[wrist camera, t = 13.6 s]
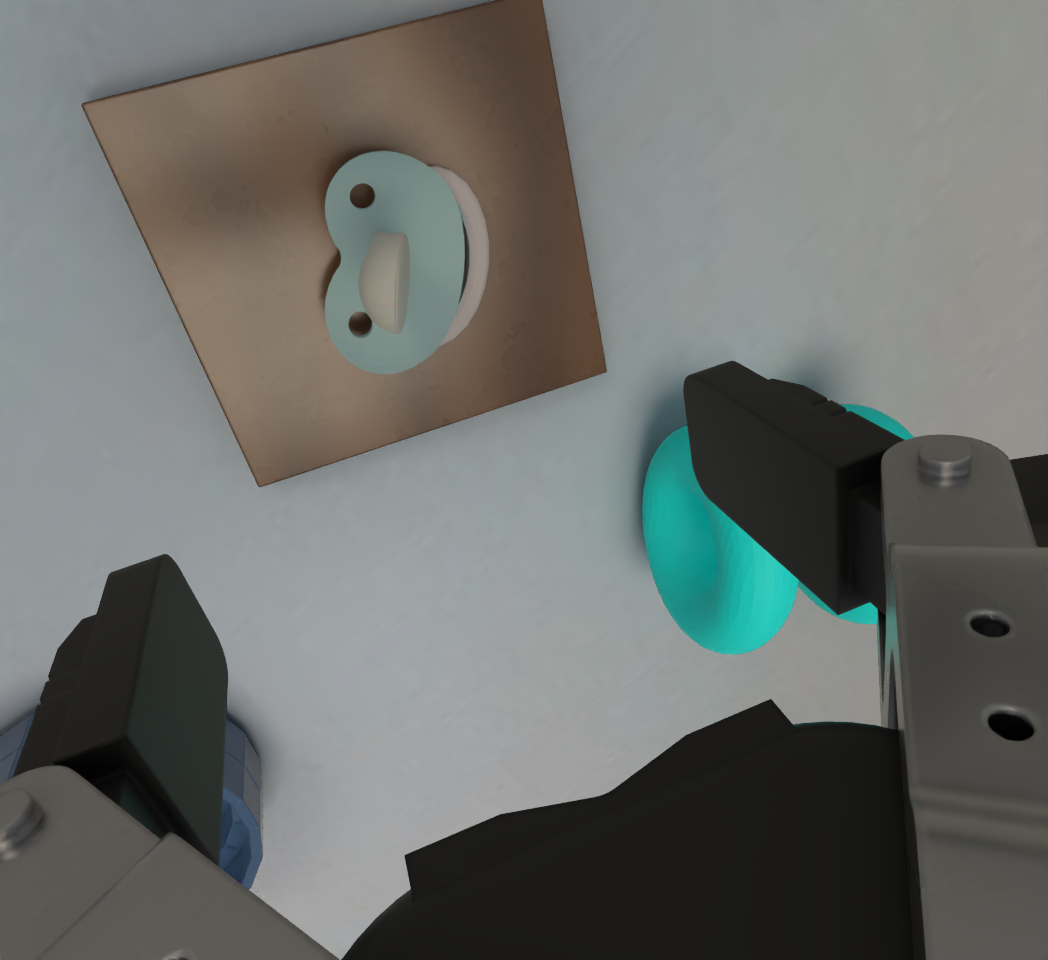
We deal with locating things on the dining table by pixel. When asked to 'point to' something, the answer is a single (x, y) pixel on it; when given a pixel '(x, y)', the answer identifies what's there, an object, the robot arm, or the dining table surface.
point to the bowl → (238, 802)
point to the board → (299, 207)
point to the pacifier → (403, 260)
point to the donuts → (720, 557)
